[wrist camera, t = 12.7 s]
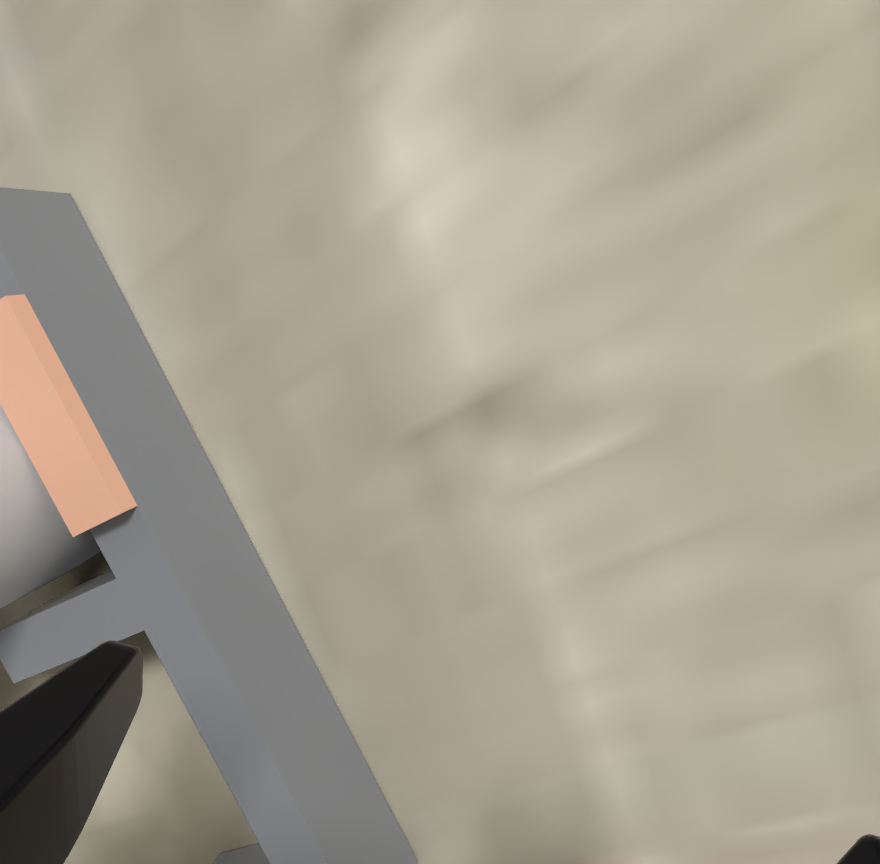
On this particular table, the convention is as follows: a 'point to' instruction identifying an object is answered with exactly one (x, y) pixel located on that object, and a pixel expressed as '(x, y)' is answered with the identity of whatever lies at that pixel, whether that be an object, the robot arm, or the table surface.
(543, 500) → the table surface
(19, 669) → the comb rack
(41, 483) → the can
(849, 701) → the table surface
